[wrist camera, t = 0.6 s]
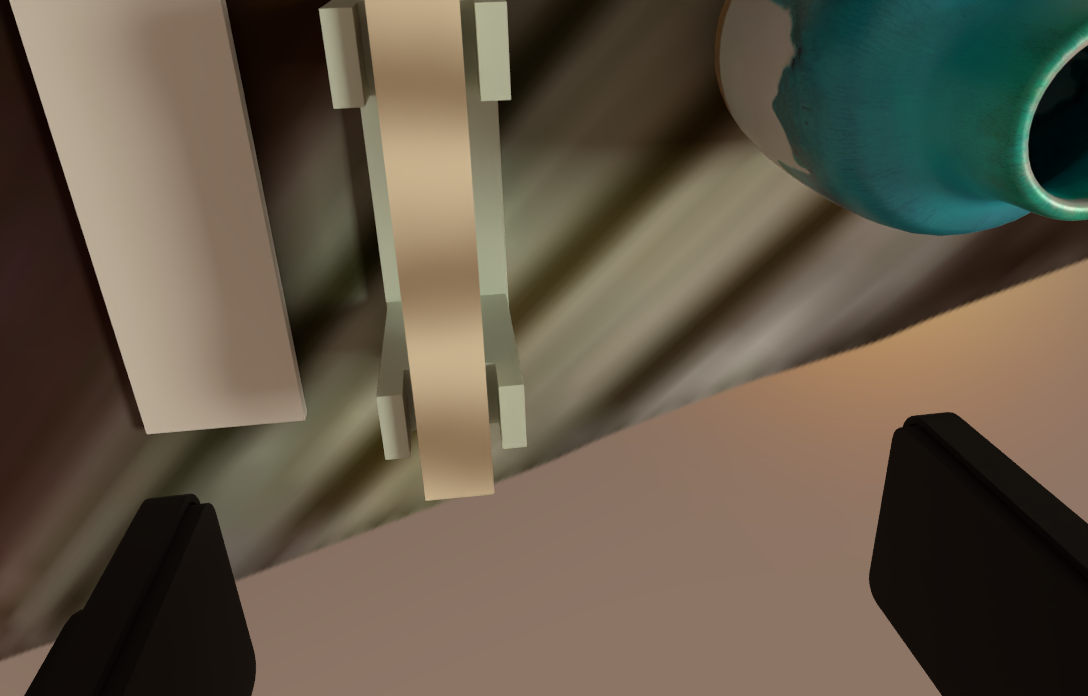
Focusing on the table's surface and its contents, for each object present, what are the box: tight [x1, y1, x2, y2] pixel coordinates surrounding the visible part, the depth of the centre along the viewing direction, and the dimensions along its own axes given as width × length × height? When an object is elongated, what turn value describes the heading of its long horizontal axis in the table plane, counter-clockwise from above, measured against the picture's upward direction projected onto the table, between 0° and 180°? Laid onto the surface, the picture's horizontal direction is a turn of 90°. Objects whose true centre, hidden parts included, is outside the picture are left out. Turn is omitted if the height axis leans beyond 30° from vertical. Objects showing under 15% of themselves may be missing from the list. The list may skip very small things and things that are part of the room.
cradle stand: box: [319, 0, 527, 460], centre depth 33 cm, size 18×6×10 cm, turn 2°
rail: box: [365, 0, 494, 501], centre depth 29 cm, size 20×3×3 cm, turn 2°
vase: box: [714, 0, 1088, 236], centre depth 28 cm, size 11×11×19 cm
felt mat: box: [9, 0, 307, 434], centre depth 36 cm, size 24×8×1 cm, turn 2°
